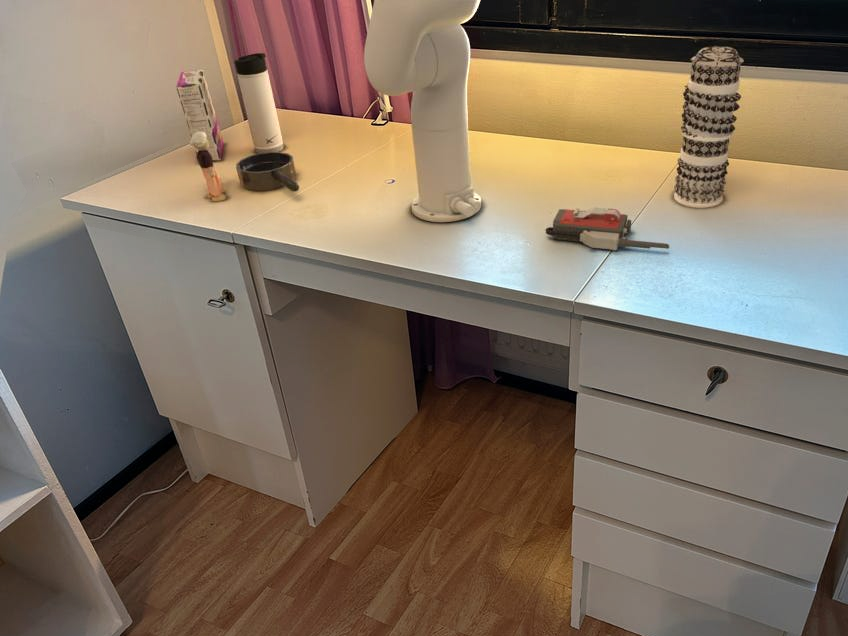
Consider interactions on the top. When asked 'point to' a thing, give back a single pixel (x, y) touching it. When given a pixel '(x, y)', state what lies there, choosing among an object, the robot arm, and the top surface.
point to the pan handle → (286, 180)
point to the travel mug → (259, 103)
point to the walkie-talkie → (596, 229)
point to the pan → (264, 170)
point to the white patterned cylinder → (707, 126)
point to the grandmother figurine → (208, 166)
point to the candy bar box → (200, 110)
